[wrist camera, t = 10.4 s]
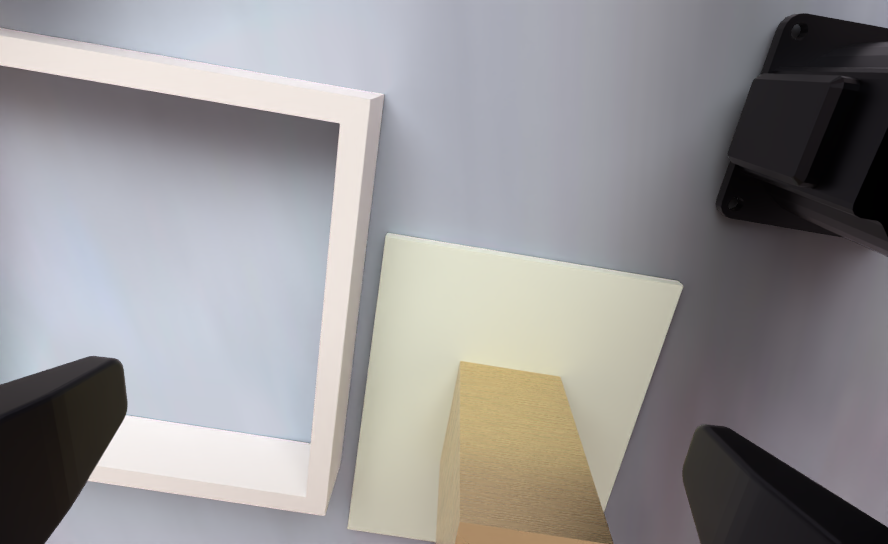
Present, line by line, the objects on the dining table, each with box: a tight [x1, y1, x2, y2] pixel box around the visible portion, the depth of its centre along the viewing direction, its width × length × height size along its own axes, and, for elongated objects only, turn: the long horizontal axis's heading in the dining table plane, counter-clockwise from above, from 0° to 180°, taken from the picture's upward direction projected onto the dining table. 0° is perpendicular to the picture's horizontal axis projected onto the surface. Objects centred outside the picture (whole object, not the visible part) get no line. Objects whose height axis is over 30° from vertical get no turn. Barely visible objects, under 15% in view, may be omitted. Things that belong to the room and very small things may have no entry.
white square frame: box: [0, 28, 384, 516], centre depth 19 cm, size 16×16×3 cm
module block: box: [436, 361, 613, 544], centre depth 18 cm, size 4×5×8 cm
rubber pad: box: [347, 233, 683, 542], centre depth 22 cm, size 11×14×1 cm
